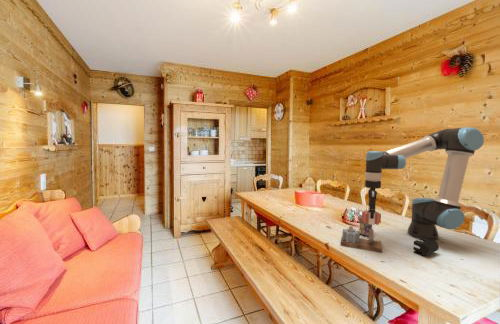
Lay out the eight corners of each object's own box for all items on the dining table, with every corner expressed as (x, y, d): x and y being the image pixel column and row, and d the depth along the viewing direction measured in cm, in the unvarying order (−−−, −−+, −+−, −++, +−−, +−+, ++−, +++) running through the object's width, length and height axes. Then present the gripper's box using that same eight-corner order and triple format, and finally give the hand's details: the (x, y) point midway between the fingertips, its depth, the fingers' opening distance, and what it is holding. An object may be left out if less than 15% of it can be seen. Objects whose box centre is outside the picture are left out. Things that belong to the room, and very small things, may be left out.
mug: (377, 236, 141) (378, 219, 141) (364, 237, 140) (364, 220, 139) (364, 229, 153) (364, 213, 152) (351, 230, 151) (351, 214, 150)
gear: (359, 238, 133) (359, 229, 133) (359, 244, 125) (359, 235, 125) (343, 235, 137) (343, 227, 137) (341, 241, 129) (342, 232, 129)
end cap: (428, 258, 114) (429, 245, 113) (412, 252, 120) (413, 240, 119) (438, 254, 118) (439, 241, 118) (423, 248, 125) (423, 236, 124)
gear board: (380, 244, 129) (381, 227, 129) (382, 252, 120) (382, 233, 120) (341, 238, 138) (342, 222, 137) (340, 245, 129) (341, 227, 128)
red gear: (375, 219, 130) (375, 210, 130) (383, 224, 121) (384, 215, 121) (359, 219, 131) (359, 210, 130) (366, 224, 122) (366, 215, 121)
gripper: (364, 177, 136) (363, 215, 137) (365, 182, 116) (363, 226, 118) (379, 177, 132) (377, 216, 134) (382, 183, 113) (380, 229, 115)
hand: (371, 221), depth 126 cm, fingers closed on red gear, 9 cm apart
